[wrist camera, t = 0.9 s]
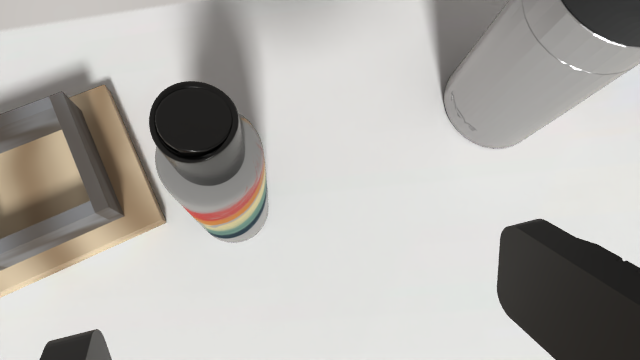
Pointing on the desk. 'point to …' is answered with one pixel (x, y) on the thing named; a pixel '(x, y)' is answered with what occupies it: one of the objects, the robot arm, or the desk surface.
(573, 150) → the desk surface
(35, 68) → the desk surface
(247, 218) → the lotion bottle
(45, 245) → the socket board
